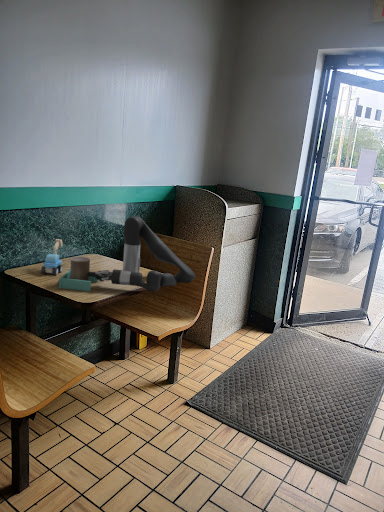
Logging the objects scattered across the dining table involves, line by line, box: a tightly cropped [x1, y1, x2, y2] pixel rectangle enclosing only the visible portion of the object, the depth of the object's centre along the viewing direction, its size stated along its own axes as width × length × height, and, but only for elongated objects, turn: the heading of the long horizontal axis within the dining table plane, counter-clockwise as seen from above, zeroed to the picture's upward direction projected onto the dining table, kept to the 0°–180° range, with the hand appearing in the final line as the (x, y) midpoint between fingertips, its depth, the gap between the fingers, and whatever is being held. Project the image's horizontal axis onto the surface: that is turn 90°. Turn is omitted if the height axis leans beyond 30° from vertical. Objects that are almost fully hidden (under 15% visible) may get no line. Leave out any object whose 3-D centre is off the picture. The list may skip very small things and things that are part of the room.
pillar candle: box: [69, 256, 91, 281], centre depth 219 cm, size 10×10×15 cm
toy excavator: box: [40, 238, 64, 276], centre depth 235 cm, size 9×17×17 cm, turn 174°
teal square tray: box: [58, 269, 99, 292], centre depth 219 cm, size 16×17×5 cm
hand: (88, 273), depth 218 cm, fingers closed
